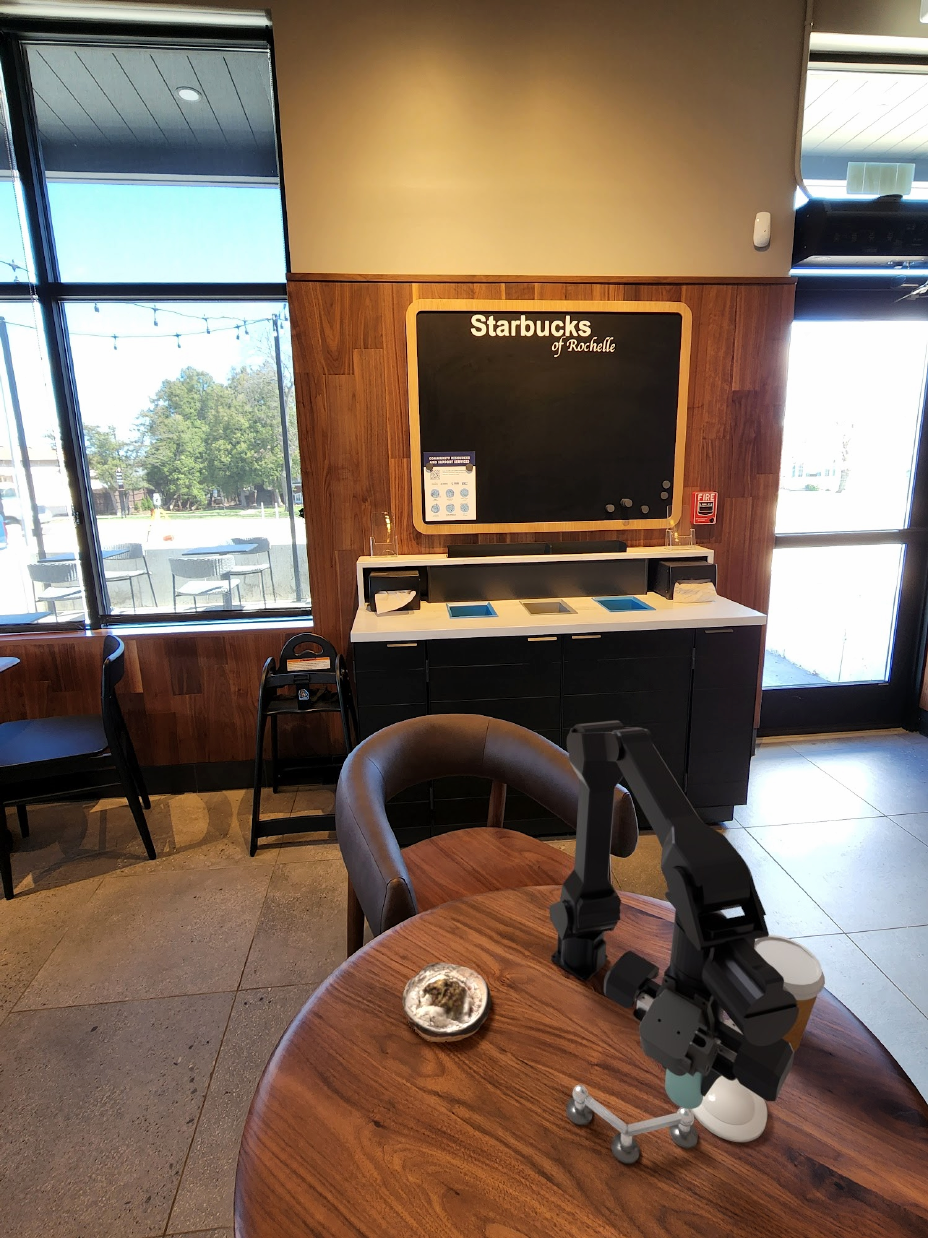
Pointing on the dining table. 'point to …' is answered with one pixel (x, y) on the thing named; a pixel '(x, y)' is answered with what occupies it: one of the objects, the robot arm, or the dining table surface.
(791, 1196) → the dining table surface
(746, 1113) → the saucer
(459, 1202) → the dining table surface
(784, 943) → the disposable coffee cup
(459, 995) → the sushi roll
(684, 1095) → the peg
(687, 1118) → the railing
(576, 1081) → the dining table surface
